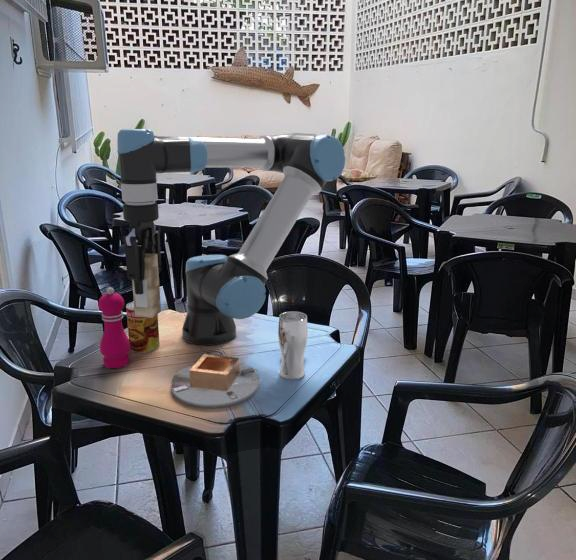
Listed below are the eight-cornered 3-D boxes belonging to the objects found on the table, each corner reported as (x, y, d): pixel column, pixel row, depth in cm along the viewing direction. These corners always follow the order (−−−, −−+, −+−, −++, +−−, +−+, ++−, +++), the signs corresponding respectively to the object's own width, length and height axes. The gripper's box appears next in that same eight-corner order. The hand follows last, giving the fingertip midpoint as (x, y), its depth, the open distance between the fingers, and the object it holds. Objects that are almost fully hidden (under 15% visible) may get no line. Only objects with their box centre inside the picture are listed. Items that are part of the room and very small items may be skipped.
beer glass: (290, 365, 133) (290, 309, 128) (312, 373, 129) (313, 315, 124) (272, 374, 128) (272, 316, 123) (294, 383, 123) (295, 323, 119)
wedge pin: (143, 309, 125) (139, 252, 121) (161, 311, 125) (157, 253, 120) (134, 316, 121) (130, 257, 117) (152, 317, 120) (148, 258, 116)
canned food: (123, 348, 141) (119, 306, 137) (144, 338, 147) (141, 298, 144) (144, 355, 137) (141, 312, 134) (165, 344, 144) (163, 303, 140)
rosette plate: (191, 362, 133) (190, 342, 132) (268, 371, 129) (268, 350, 128) (156, 401, 115) (154, 379, 113) (244, 413, 111) (244, 389, 109)
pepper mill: (95, 366, 131) (87, 289, 125) (116, 355, 137) (109, 281, 131) (117, 372, 128) (110, 294, 122) (137, 360, 134) (132, 285, 128)
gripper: (143, 196, 124) (149, 290, 131) (102, 207, 108) (112, 314, 115) (172, 197, 123) (178, 292, 129) (136, 209, 106) (144, 317, 113)
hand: (147, 302), depth 122 cm, fingers closed on wedge pin, 4 cm apart
